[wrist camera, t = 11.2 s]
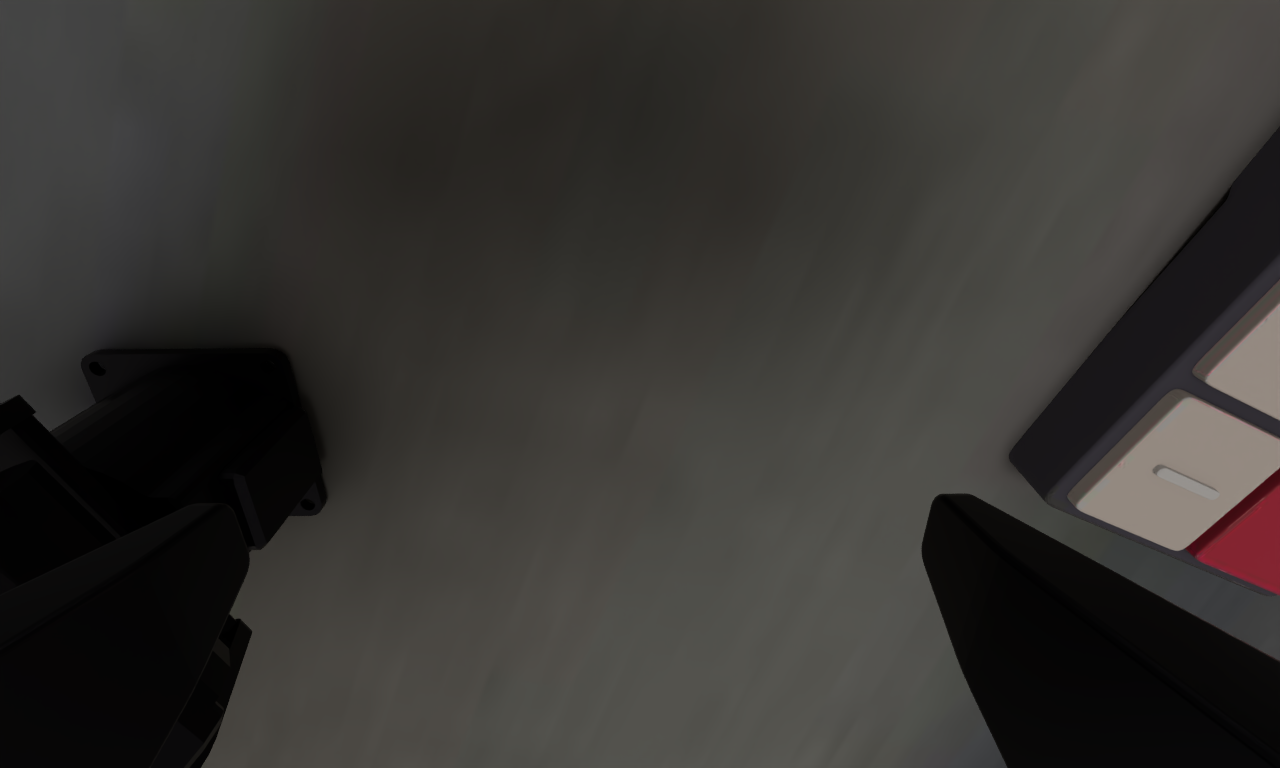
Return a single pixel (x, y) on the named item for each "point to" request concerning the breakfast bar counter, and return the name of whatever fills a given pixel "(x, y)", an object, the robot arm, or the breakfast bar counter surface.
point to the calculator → (1184, 402)
